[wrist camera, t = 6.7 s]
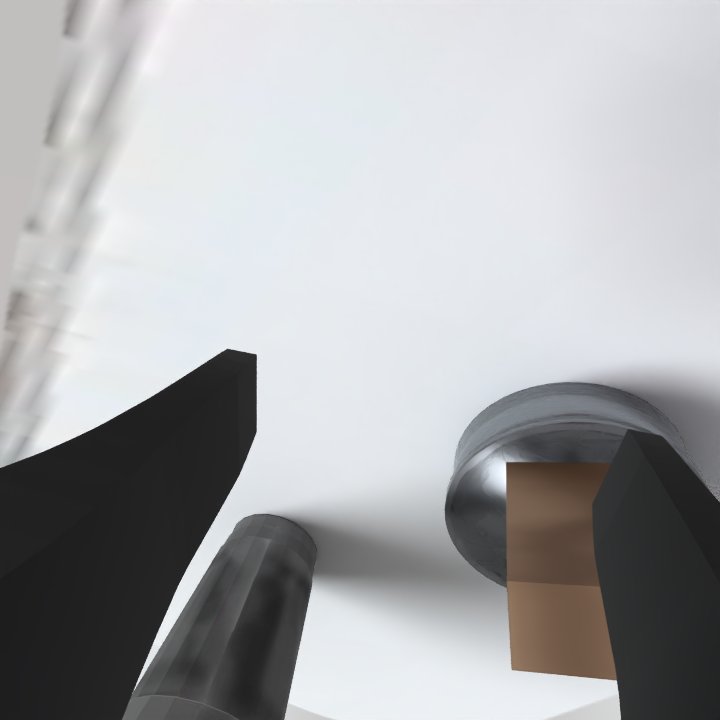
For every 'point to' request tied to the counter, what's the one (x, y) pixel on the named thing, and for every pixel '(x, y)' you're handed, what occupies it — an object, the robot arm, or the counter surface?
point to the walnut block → (555, 570)
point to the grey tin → (536, 455)
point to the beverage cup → (235, 631)
